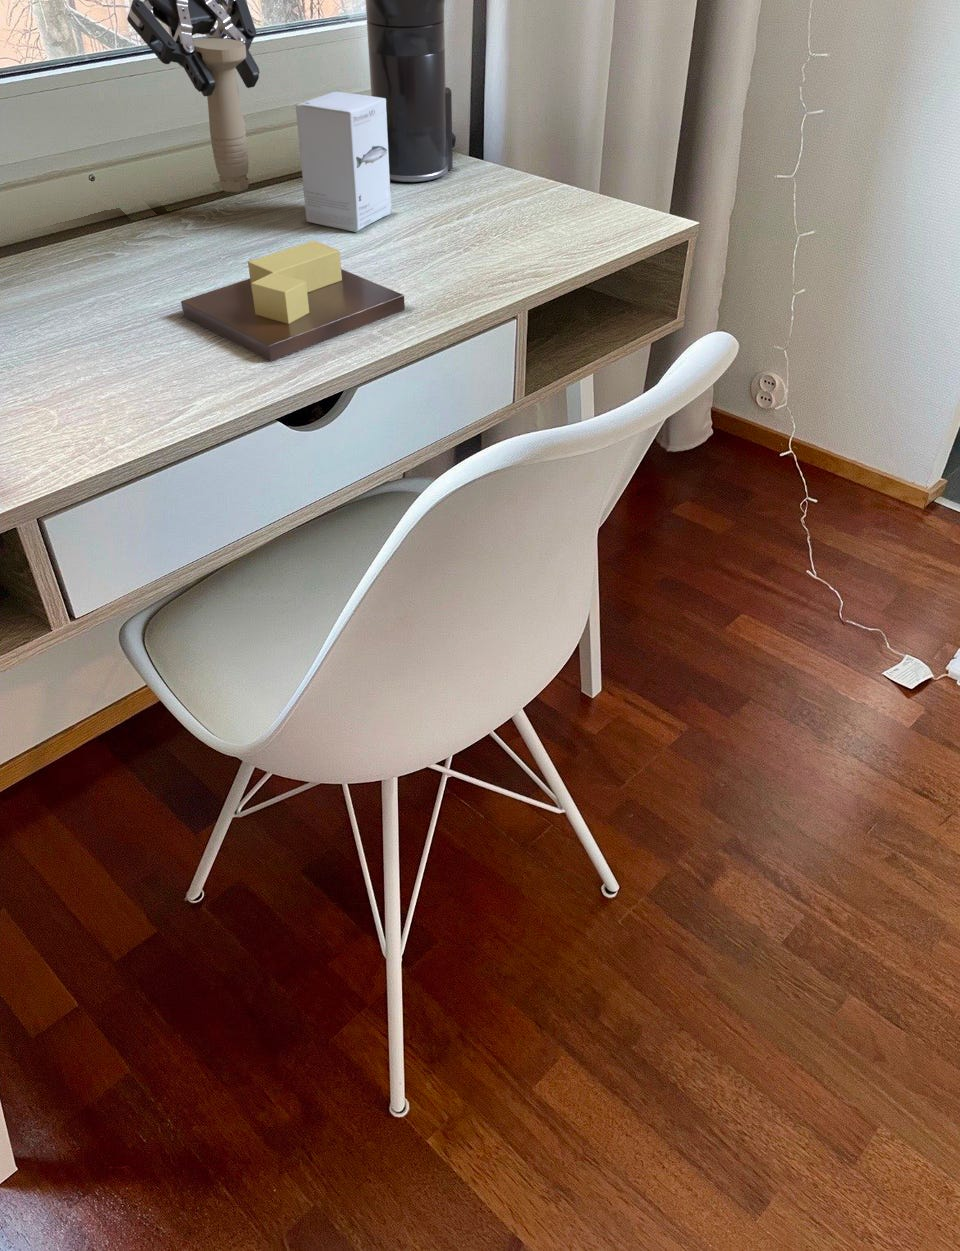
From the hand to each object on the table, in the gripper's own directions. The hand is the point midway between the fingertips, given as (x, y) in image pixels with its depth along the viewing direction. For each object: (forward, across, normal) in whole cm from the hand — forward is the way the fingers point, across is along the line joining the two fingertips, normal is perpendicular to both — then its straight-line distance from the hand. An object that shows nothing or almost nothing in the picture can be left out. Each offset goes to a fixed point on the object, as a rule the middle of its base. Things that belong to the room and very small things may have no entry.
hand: (232, 86), depth 112 cm
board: (+28, -13, -8) cm, 32 cm away
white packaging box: (+16, +8, +4) cm, 18 cm away
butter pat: (+28, -16, -11) cm, 34 cm away
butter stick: (+25, -11, -8) cm, 29 cm away
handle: (+6, 0, +10) cm, 12 cm away
